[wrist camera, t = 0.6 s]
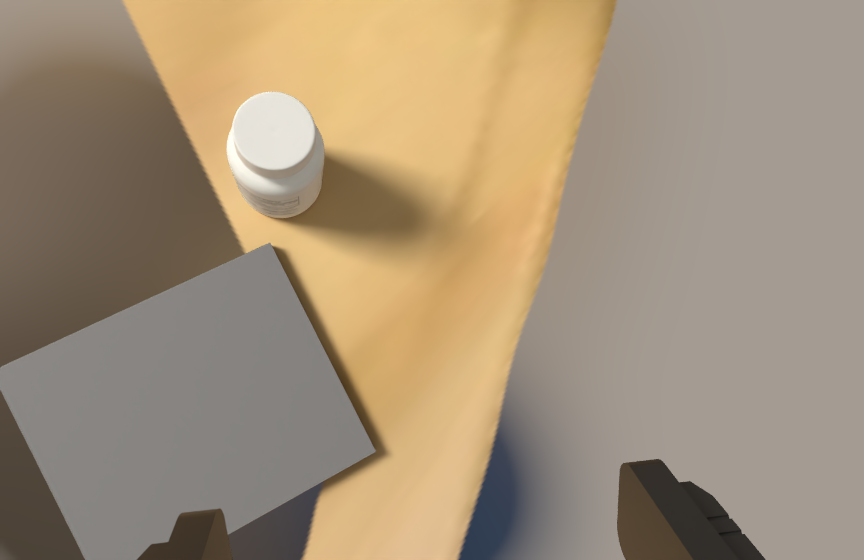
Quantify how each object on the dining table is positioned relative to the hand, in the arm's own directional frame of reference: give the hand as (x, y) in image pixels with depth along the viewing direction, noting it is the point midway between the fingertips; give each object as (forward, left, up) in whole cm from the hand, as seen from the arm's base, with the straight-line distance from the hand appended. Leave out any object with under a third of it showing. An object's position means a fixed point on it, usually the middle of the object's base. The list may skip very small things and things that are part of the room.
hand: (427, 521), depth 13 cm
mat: (-4, -7, -21) cm, 23 cm away
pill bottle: (-13, +2, -22) cm, 25 cm away
